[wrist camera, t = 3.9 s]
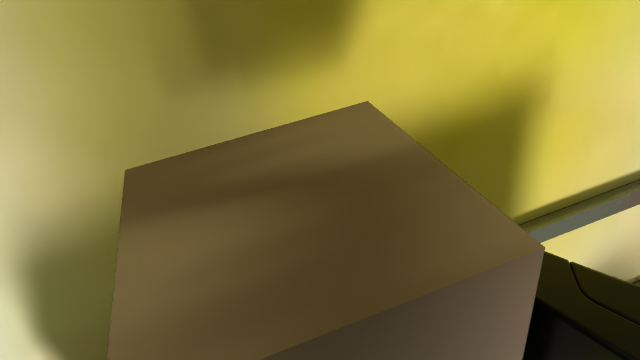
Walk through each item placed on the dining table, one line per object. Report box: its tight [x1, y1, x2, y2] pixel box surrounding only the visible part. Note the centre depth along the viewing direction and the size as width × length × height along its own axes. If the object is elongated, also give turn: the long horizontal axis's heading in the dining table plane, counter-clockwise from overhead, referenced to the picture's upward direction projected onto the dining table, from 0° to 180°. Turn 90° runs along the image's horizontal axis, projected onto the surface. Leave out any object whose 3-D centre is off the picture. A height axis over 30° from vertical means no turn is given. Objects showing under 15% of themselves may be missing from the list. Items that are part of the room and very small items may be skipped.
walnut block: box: [107, 101, 545, 360], centre depth 8 cm, size 5×5×5 cm
